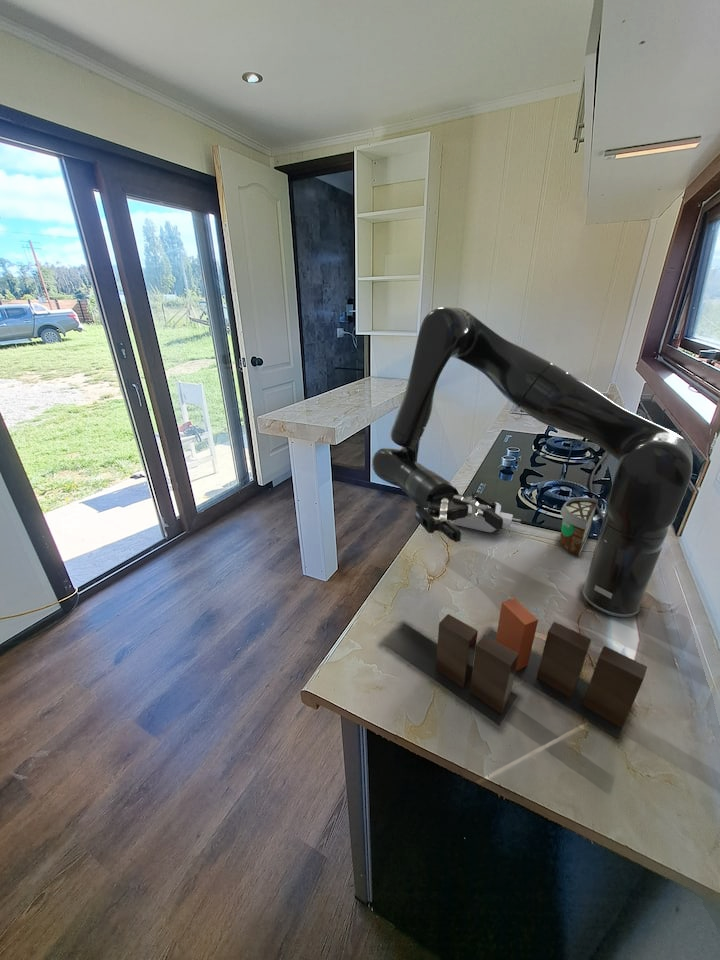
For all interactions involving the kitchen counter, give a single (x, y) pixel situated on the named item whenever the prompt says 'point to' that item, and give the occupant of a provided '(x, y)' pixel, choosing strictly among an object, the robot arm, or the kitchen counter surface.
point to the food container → (576, 523)
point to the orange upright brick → (517, 630)
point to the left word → (462, 664)
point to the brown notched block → (595, 701)
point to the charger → (482, 524)
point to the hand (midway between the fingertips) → (480, 531)
